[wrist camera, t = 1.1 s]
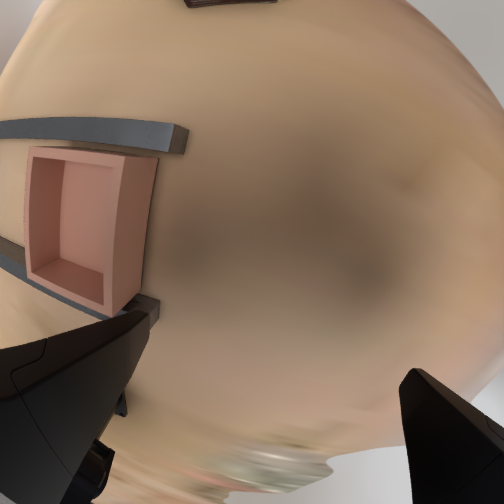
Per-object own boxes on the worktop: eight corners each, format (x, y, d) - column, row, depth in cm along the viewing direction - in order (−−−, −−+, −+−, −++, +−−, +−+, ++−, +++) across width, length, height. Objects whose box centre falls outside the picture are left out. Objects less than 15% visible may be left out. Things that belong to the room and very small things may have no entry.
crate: (140, 290, 18) (112, 318, 14) (59, 259, 18) (27, 277, 14) (158, 158, 15) (125, 156, 11) (67, 146, 15) (29, 146, 11)
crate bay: (158, 318, 19) (144, 337, 16) (-12, 242, 19) (-27, 249, 16) (189, 130, 15) (174, 124, 12) (-6, 124, 15) (-22, 124, 12)
